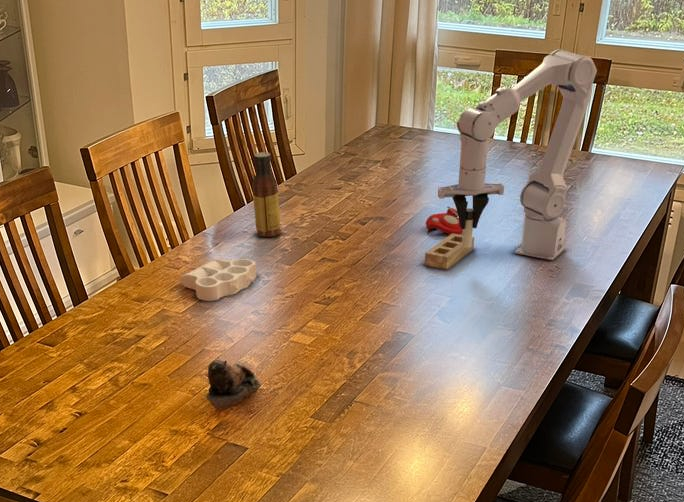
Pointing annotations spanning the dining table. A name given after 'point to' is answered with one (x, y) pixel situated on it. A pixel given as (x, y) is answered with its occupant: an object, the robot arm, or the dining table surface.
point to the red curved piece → (445, 222)
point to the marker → (468, 229)
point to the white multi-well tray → (220, 278)
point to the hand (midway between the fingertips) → (468, 227)
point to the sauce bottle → (265, 197)
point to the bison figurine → (229, 384)
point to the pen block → (447, 252)
